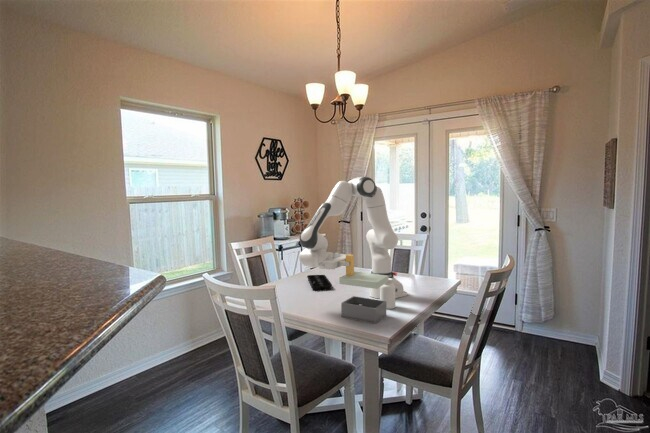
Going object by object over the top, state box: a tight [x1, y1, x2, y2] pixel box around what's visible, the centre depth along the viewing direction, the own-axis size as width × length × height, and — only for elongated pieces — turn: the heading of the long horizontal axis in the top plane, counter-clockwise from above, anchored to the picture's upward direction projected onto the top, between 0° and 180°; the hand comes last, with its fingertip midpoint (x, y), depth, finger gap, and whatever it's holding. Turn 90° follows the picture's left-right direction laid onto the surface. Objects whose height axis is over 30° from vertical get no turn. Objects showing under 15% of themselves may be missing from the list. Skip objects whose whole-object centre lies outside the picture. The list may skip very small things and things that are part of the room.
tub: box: [340, 295, 387, 324], centre depth 173 cm, size 18×13×7 cm
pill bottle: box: [379, 278, 396, 310], centre depth 186 cm, size 8×8×15 cm
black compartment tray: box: [306, 274, 333, 292], centre depth 233 cm, size 18×30×4 cm, turn 22°
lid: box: [339, 254, 389, 289], centre depth 172 cm, size 19×14×13 cm
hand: (351, 263), depth 175 cm, fingers closed on lid, 3 cm apart
